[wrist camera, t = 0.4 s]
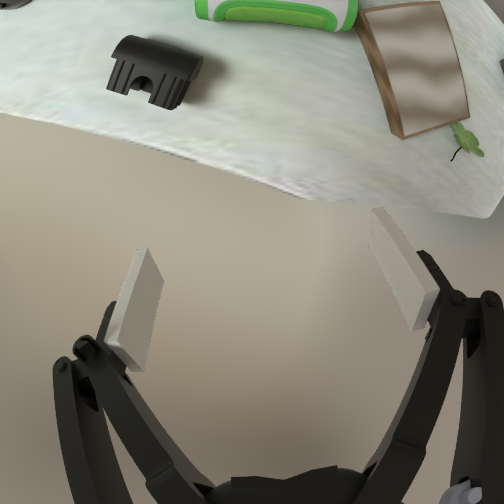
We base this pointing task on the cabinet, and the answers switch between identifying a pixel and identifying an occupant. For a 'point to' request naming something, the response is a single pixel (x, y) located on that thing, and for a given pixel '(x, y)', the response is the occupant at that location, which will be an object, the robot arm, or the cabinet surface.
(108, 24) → the cabinet surface
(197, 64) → the end cap
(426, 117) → the stand
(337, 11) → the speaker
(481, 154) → the seedling
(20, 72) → the cabinet surface
